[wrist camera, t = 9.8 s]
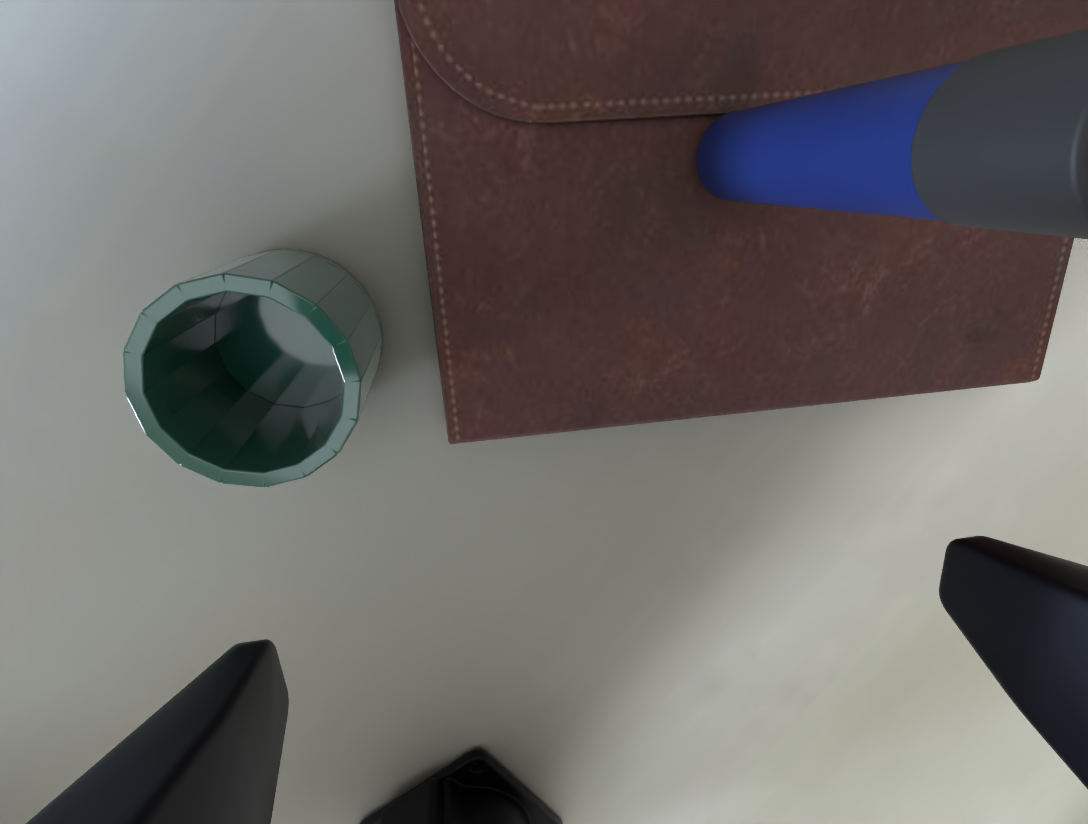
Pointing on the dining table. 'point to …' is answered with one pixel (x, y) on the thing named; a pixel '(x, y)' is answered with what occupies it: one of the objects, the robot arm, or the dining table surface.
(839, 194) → the marker
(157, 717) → the robot arm
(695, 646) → the dining table surface
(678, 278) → the notebook
